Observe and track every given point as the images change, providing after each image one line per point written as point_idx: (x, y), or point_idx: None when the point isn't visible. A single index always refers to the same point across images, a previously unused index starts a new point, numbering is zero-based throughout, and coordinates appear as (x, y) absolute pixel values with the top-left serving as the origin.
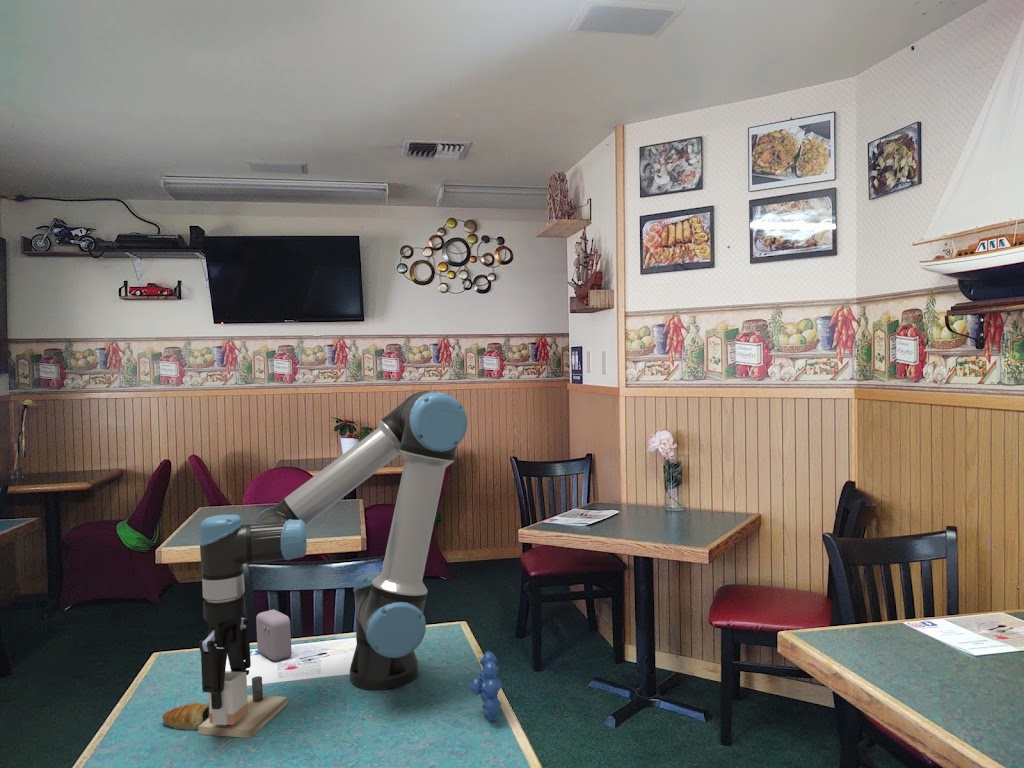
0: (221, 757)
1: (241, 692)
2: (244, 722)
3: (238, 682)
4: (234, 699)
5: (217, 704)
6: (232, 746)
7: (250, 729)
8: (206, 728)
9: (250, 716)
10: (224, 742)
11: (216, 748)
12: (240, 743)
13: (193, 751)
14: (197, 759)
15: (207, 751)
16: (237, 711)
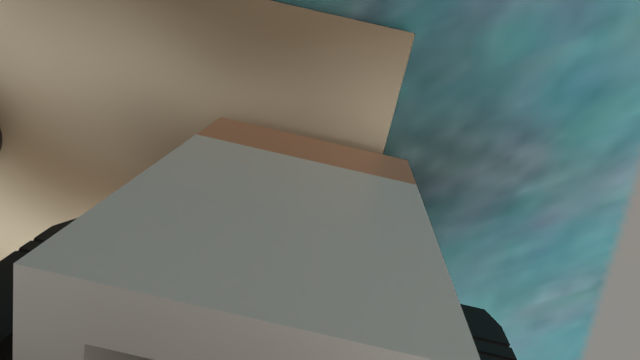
0: (625, 133)
1: (255, 198)
2: (294, 114)
3: (287, 281)
4: (393, 223)
5: (509, 350)
6: (499, 112)
7: (404, 33)
8: None
9: (209, 101)
10: (439, 177)
11: (505, 198)
12: (469, 74)
13: (513, 305)
14: (611, 257)
15: (530, 235)
16: (352, 167)
